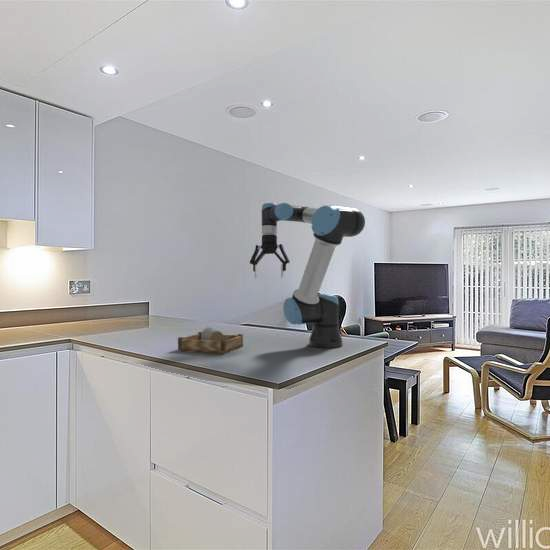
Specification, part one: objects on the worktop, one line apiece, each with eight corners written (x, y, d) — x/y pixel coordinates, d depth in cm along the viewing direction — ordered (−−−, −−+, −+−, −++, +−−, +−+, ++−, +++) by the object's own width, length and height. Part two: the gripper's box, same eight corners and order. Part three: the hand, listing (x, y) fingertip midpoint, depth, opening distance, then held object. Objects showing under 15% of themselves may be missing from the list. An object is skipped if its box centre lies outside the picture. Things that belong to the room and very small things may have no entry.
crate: (243, 346, 177) (243, 334, 177) (224, 354, 160) (224, 340, 160) (200, 343, 185) (200, 331, 185) (178, 350, 168) (178, 337, 168)
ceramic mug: (211, 348, 167) (211, 329, 167) (200, 345, 173) (200, 328, 173) (231, 345, 174) (231, 327, 174) (220, 343, 180) (220, 326, 180)
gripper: (295, 234, 195) (296, 277, 194) (249, 237, 203) (249, 278, 202) (291, 232, 188) (291, 277, 187) (243, 235, 196) (243, 278, 195)
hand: (269, 278), depth 195 cm, fingers open, 13 cm apart
